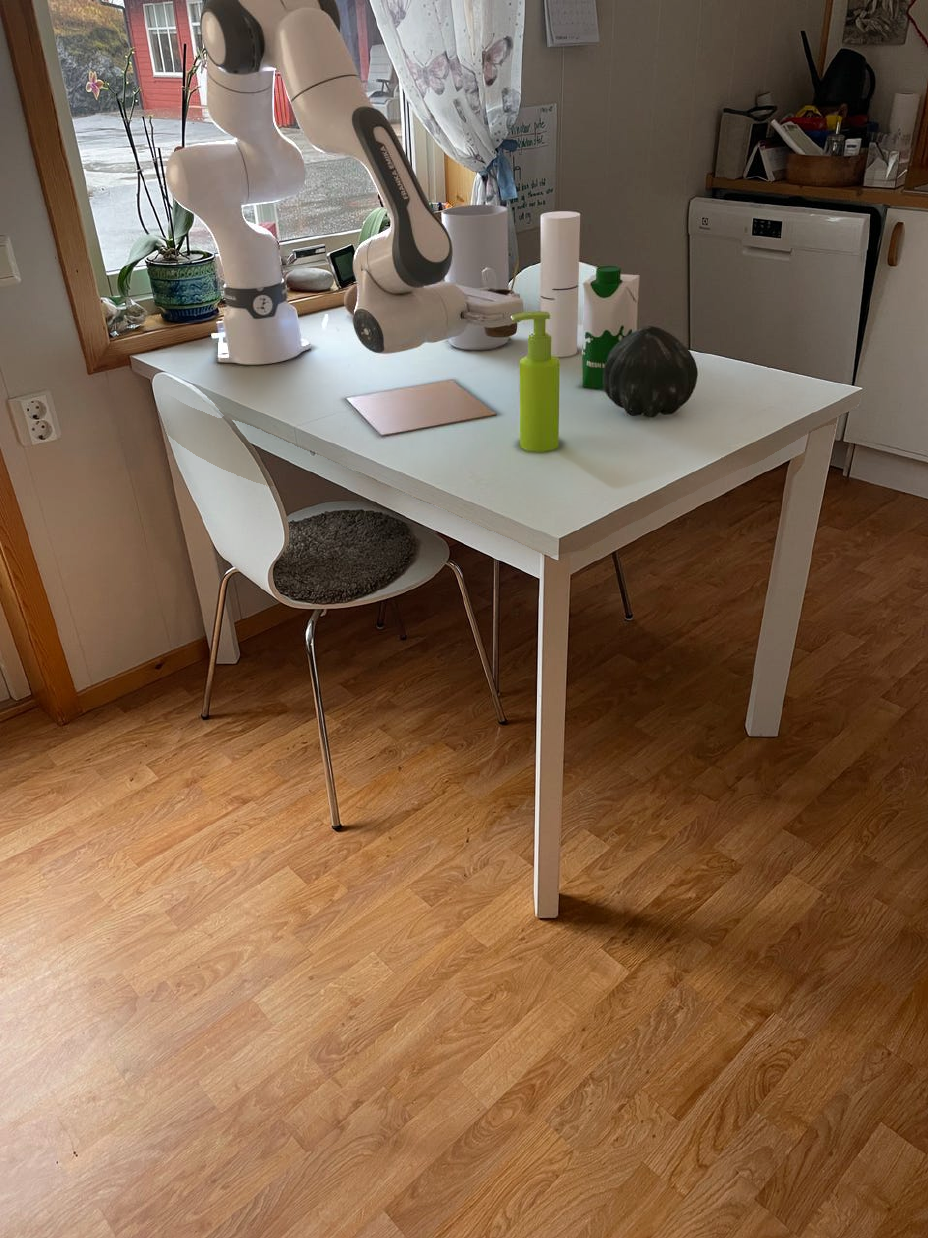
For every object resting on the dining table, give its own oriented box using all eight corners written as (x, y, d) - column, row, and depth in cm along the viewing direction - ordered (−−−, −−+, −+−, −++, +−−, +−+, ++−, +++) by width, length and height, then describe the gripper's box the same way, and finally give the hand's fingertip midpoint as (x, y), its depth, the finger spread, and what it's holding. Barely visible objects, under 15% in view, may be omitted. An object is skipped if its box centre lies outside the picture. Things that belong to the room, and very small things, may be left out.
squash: (670, 354, 165) (627, 297, 155) (728, 381, 154) (685, 321, 144) (615, 419, 166) (569, 366, 156) (669, 450, 155) (622, 395, 145)
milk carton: (576, 388, 169) (578, 270, 158) (592, 372, 175) (595, 258, 165) (624, 393, 165) (630, 273, 155) (639, 377, 172) (645, 261, 161)
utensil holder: (485, 328, 171) (483, 258, 165) (520, 328, 170) (520, 257, 164) (481, 338, 166) (479, 265, 160) (517, 338, 165) (517, 265, 159)
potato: (360, 323, 210) (357, 291, 207) (336, 315, 218) (332, 283, 214) (387, 317, 214) (384, 285, 210) (362, 309, 221) (359, 277, 217)
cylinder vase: (520, 337, 196) (519, 206, 183) (489, 354, 188) (485, 217, 174) (469, 330, 202) (464, 203, 189) (436, 346, 194) (428, 213, 180)
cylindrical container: (575, 357, 184) (578, 217, 170) (538, 356, 185) (538, 218, 172) (578, 346, 190) (582, 210, 176) (542, 345, 191) (543, 211, 178)
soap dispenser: (511, 439, 150) (509, 309, 139) (555, 436, 150) (556, 306, 139) (516, 453, 145) (514, 319, 134) (561, 450, 145) (563, 316, 134)
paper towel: (346, 399, 169) (346, 398, 169) (451, 380, 175) (451, 379, 175) (381, 436, 153) (381, 435, 153) (496, 414, 159) (496, 413, 159)
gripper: (485, 301, 149) (547, 284, 157) (403, 282, 163) (464, 268, 170) (486, 341, 153) (547, 323, 160) (406, 320, 166) (466, 304, 173)
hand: (504, 294), depth 165 cm, fingers closed on utensil holder, 5 cm apart
